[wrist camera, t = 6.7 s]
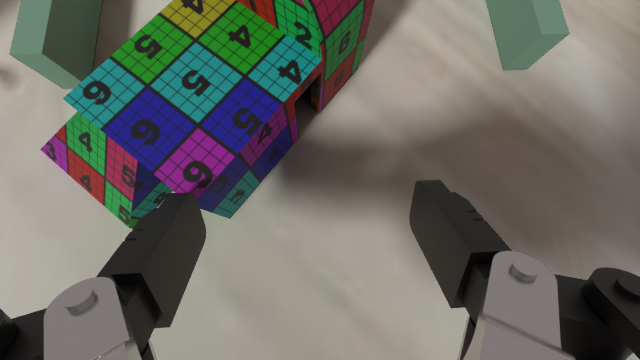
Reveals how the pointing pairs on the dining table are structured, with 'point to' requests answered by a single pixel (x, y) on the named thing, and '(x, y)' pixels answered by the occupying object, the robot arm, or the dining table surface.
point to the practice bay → (85, 7)
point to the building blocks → (205, 100)
